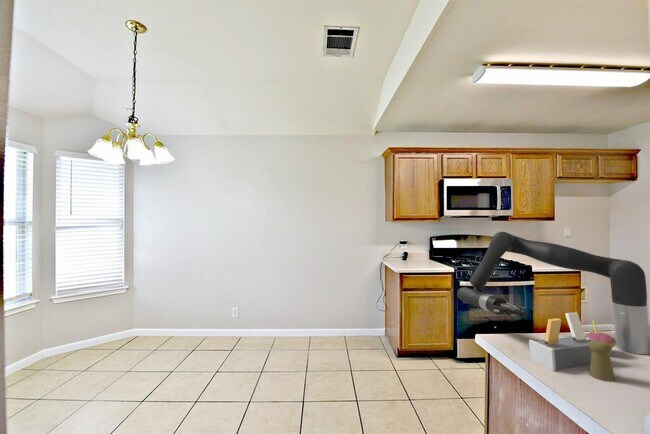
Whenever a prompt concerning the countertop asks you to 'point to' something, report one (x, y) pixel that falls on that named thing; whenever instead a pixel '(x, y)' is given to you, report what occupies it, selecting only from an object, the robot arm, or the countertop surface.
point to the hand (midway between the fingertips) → (524, 314)
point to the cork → (601, 361)
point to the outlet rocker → (552, 331)
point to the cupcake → (601, 337)
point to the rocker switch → (575, 326)
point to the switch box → (561, 353)
